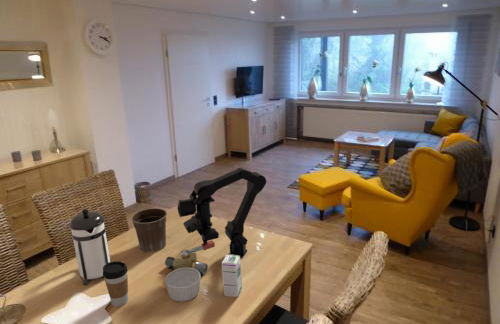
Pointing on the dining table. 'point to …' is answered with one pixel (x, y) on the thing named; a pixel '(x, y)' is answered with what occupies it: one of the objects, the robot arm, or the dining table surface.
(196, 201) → the robot arm
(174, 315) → the dining table surface
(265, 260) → the dining table surface
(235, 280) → the syrup box
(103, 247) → the coffee press
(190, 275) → the ramekin
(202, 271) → the valve body
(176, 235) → the dining table surface
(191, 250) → the valve lever
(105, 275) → the coffee cup
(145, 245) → the plant pot
